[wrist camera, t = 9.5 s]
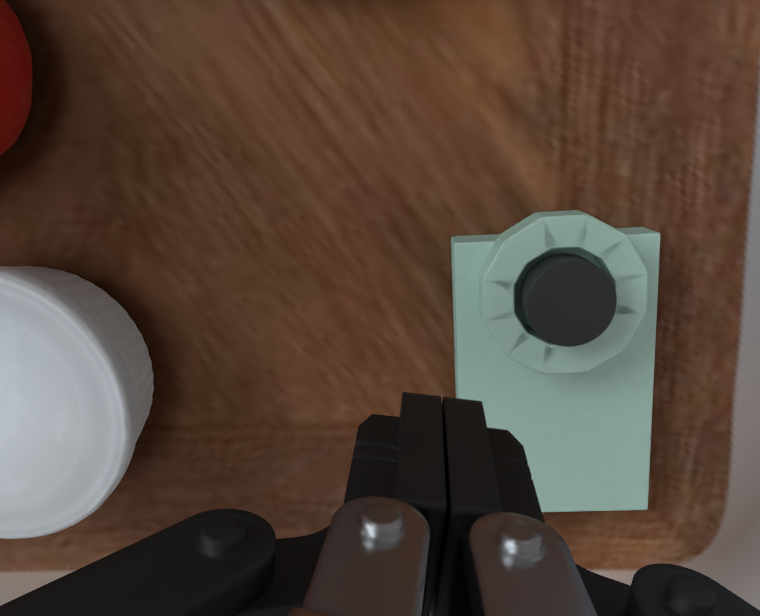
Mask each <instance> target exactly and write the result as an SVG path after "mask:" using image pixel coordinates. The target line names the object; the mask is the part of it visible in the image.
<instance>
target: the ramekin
mask: <svg viewBox="0 0 760 616" xmlns="http://www.w3.org/2000/svg"><path fill="white" fill-rule="evenodd" d="M153 377H154V374H153V371H152V362H151V359H150V356H149V353H148V348H147V346H146V344H145V342H144V340H143V337H142V334H141V333H140V331H139V330H138V328H137V327H136V324H135V322H134V321H133V320H132V319H131V318H130V316H129V315H128V313H127V312H126V310H125V309H124V308H123V307H122V306H121V305H120V304H119V303H118V302H117V301H116V300H115V299H113V298H112V297H111V296H109V295H108V294H107V293H106V292H105V291H104V290H102V289H101V288H99V287H97V286H95V285H94V284H93V283H91V282H90V281H87V280H85V279H82V278H80V277H79V276H77V275H74V274H70V273H67V272H65V271H62V270H56V269H50V268H47V267H33V266H4V267H2V266H0V538H6V539H17V538H32V537H39V536H44V535H48V534H51V533H55V532H58V531H61V530H63V529H65V528H68V527H70V526H72V525H74V524H76V523H78V522H79V521H81V520H83V519H84V518H85V517H87V516H88V515H90V514H91V513H93V512H94V511H96V510H97V509H98V508H99V507H100V506H101V505H102V503H103V502H104V501H105V500H106V499H107V498H108V496H109V495H110V494H111V493H112V492H113V490H114V489H115V488H116V487H117V485H118V484H119V482H120V481H121V479H122V477H123V476H124V474H125V472H126V470H127V468H128V466H129V463H130V461H131V458H132V455H133V452H134V448H135V444H136V441H137V439H138V437H139V435H140V433H141V431H142V429H143V427H144V424H145V422H146V420H147V418H148V416H149V413H150V408H151V405H152V394H153V391H154V384H153Z"/></svg>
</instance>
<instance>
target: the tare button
mask: <svg viewBox="0 0 760 616" xmlns="http://www.w3.org/2000/svg"><path fill="white" fill-rule="evenodd" d="M520 303H521V307H522V310H523V313H524V315H525V316H526V318H527V320H528V321H529V323H530V325H531V326H532V328H533V329H534V330H535V332H536V333H537V334H538V335H539V336H540V337H542V338H543V339H544V340H546V341H548V342H550V343H552V344H555V345H558V346H565V347H572V346H579V345H583V344H586V343H588V342H590V341H592V340H594V339H596V338H597V337H599V336H600V335H601V334H602V333H603V332H604V331H605V330H606V329H607V327H608V326H609V325H610V323H611V321H612V319H613V317H614V314H615V311H616V304H617V296H616V291H615V288H614V285H613V283H612V281H611V279H610V278H609V277H608V275H607V274H606V273H605V272H604V271H603V270H602V269H600V268H599V267H598V266H596V265H595V264H593V263H592V262H590V261H589V260H587V259H585V258H583V257H581V256H578V255H575V254H568V253H562V254H556V255H552V256H549V257H546V258H544V259H543V260H541V261H539V262H538V263H537V264H535V265H534V266H533V267H532V268H531V269H530V271H529V272H528V273H527V275H526V276H525V278H524V280H523V283H522V286H521V291H520Z"/></svg>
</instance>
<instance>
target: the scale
mask: <svg viewBox="0 0 760 616" xmlns="http://www.w3.org/2000/svg"><path fill="white" fill-rule="evenodd" d="M562 253H568V254H575V255H578V256H581V257H583V258H585V259H587V260H589V261H590V262H592V263H593V264H595V265H596V266H598V267H599V268H600V269H602V270H603V271H604V272H605V273H606V274H607V275H608V277H609V278H610V279H611V281H612V283H613V285H614V288H615V291H616V296H617V304H616V311H615V314H614V317H613V319H612V321H611V323H610V325H609V326H608V327H607V329H606V330H605V331H604V332H603V333H602V334H601V335H600V336H599V337H597V338H596V339H594V340H592V341H590V342H588V343H586V344H583V345H579V346H572V347H565V346H558V345H555V344H552V343H550V342H548V341H546V340H544V339H543V338H542V337H540V336H539V335H538V334H537V333H536V332H535V330H534V329H533V328H532V326H531V325H530V323H529V321H528V320H527V318H526V316H525V315H524V313H523V310H522V307H521V303H520V291H521V286H522V283H523V280H524V278H525V276H526V275H527V273H528V272H529V271H530V269H531V268H532V267H533V266H534V265H535V264H537V263H538V262H539V261H541V260H543V259H544V258H546V257H549V256H552V255H556V254H562ZM659 254H660V233H658V232H656V231H653V230H650V229H648V228H645V227H631V228H614V227H612V226H610V225H608V224H606V223H604V222H602V221H600V220H598V219H596V218H594V217H593V216H591V215H588V214H586V213H584V212H581V211H578V210H568V211H549V212H536V213H533V214H532V215H530V216H528V217H527V218H525V219H524V220H522V221H520V222H519V223H517V224H516V225H514V226H512V227H511V228H509V229H508V230H506V231H504V232H503V233H501V234H489V235H469V236H452V237H451V258H452V290H453V323H454V355H455V387H456V398H460V399H468V400H477V401H482V403H483V408H484V414H485V419H486V424H487V428H496V429H504V430H508V431H509V432H510V433H511V434H512V435H513V436H514V437H515V438H516V439H517V440H518V441H519V442H520V443H521V444H522V445H523V447H524V450H525V454H526V458H527V461H528V466H529V468H530V472H531V476H532V477H531V480H533V483H534V486H535V490H536V494H537V497H538V501H539V504H540V508H541V512H569V511H613V510H647V509H648V491H649V469H650V448H651V426H652V405H653V383H654V362H655V340H656V319H657V297H658V276H659Z"/></svg>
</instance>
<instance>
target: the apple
mask: <svg viewBox="0 0 760 616" xmlns="http://www.w3.org/2000/svg"><path fill="white" fill-rule="evenodd" d="M31 106H32V54H31V49H30V46H29V44H28V41H27V39H26V36H25V34H24V31H23V29H22V27H21V24H20V22H19V19H18V17H17V16H16V14H15V13H14V12H13V10H12V9H11V8H10V6H9V5H8V3H7V2H6V1H5V0H0V156H1V155H2V154H3V153H4V152H6V151H7V150H8V149H9V148H10V147H11V146H12V145H13V144H14V143H15V142H16V141H17V139H18V137H19V135H20V133H21V131H22V130H23V128H24V126H25V124H26V121H27V118H28V115H29V112H30V109H31Z"/></svg>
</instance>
